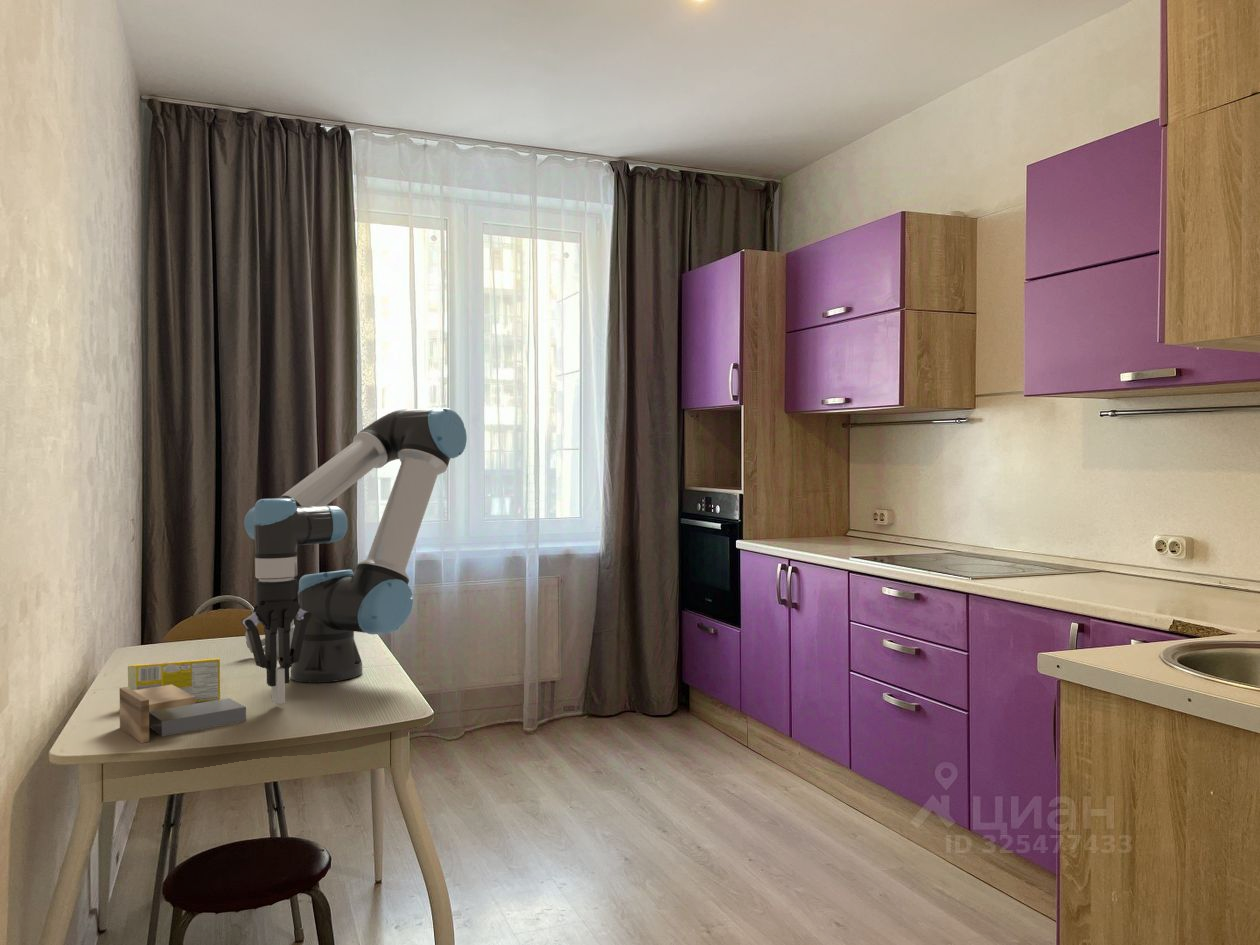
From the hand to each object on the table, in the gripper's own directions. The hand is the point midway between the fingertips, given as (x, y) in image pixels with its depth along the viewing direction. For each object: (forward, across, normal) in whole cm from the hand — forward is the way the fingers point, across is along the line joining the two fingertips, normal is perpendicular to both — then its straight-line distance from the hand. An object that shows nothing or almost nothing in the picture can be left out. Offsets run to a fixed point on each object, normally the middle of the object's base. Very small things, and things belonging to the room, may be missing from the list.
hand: (278, 701), depth 173 cm
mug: (+2, -19, -51) cm, 54 cm away
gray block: (+1, +15, 0) cm, 15 cm away
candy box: (+1, +13, -18) cm, 22 cm away
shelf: (+1, +21, 0) cm, 21 cm away
